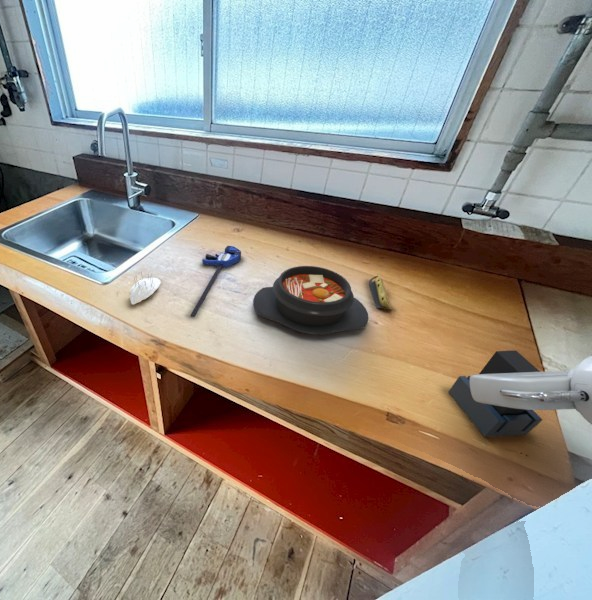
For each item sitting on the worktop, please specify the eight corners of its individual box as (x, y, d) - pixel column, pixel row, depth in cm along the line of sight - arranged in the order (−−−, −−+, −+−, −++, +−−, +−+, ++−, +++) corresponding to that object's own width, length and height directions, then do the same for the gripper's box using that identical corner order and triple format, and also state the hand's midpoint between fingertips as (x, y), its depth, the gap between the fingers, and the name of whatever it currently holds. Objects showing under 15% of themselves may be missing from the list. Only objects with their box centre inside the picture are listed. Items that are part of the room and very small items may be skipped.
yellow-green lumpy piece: (371, 284, 85) (383, 279, 83) (379, 317, 74) (393, 312, 73) (365, 275, 84) (377, 270, 82) (372, 307, 73) (386, 301, 72)
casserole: (248, 332, 70) (251, 301, 65) (256, 284, 84) (259, 256, 79) (373, 349, 64) (387, 317, 59) (358, 296, 79) (369, 266, 74)
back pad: (511, 423, 49) (552, 382, 43) (491, 424, 49) (530, 383, 43) (482, 391, 54) (516, 350, 48) (464, 392, 54) (496, 351, 48)
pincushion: (148, 278, 88) (146, 260, 85) (167, 283, 86) (166, 265, 83) (122, 302, 80) (118, 283, 77) (143, 308, 78) (140, 289, 74)
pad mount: (526, 435, 49) (543, 419, 47) (484, 437, 49) (498, 421, 47) (484, 390, 56) (497, 374, 53) (448, 391, 56) (459, 375, 53)
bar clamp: (211, 242, 99) (243, 246, 96) (211, 249, 100) (243, 254, 97) (169, 306, 76) (209, 315, 73) (170, 314, 77) (209, 323, 74)
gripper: (538, 428, 35) (441, 405, 48) (729, 421, 34) (577, 399, 48) (527, 369, 35) (434, 362, 49) (713, 361, 35) (568, 357, 49)
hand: (506, 381), depth 49 cm, fingers open, 8 cm apart
